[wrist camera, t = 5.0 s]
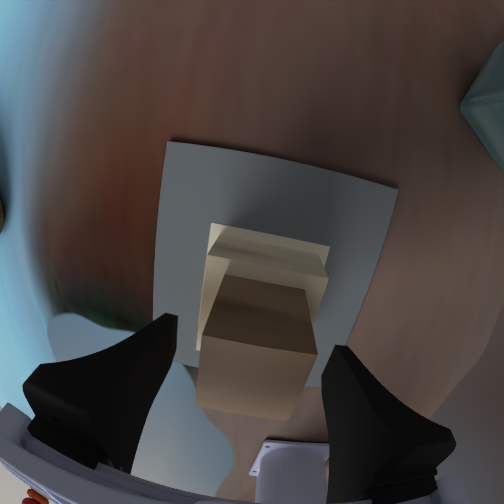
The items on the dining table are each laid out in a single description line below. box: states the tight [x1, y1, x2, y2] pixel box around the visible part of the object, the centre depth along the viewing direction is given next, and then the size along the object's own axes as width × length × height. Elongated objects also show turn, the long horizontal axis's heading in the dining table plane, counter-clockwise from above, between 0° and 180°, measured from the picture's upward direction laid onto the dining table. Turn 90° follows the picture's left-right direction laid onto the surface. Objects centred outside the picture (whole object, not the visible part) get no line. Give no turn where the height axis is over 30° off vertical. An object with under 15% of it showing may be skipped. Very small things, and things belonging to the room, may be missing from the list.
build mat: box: [153, 141, 398, 387], centre depth 18 cm, size 16×14×1 cm
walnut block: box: [195, 274, 318, 421], centre depth 12 cm, size 4×4×5 cm
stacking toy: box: [22, 487, 49, 504], centre depth 27 cm, size 8×8×19 cm
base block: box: [196, 234, 329, 351], centre depth 16 cm, size 6×6×4 cm
